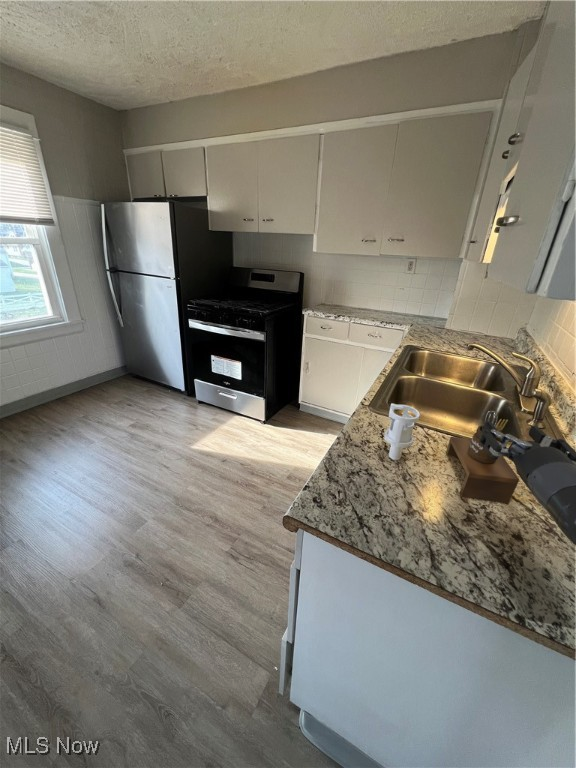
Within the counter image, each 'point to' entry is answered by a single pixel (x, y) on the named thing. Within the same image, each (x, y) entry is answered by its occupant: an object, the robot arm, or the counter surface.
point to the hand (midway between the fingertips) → (508, 427)
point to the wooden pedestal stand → (483, 474)
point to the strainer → (400, 430)
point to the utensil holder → (477, 449)
